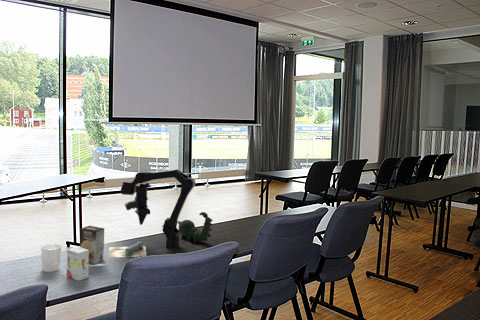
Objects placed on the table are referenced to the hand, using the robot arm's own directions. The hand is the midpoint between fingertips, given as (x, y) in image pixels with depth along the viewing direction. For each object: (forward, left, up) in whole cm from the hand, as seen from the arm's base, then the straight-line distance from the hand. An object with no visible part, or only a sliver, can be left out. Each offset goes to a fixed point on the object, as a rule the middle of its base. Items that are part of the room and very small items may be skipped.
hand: (140, 224), depth 216 cm
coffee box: (+23, +23, -12) cm, 34 cm away
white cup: (+39, +31, -12) cm, 51 cm away
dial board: (+7, +12, -12) cm, 18 cm away
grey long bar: (+3, +12, -10) cm, 17 cm away
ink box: (+27, +42, -12) cm, 51 cm away
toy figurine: (-29, -8, -12) cm, 33 cm away
